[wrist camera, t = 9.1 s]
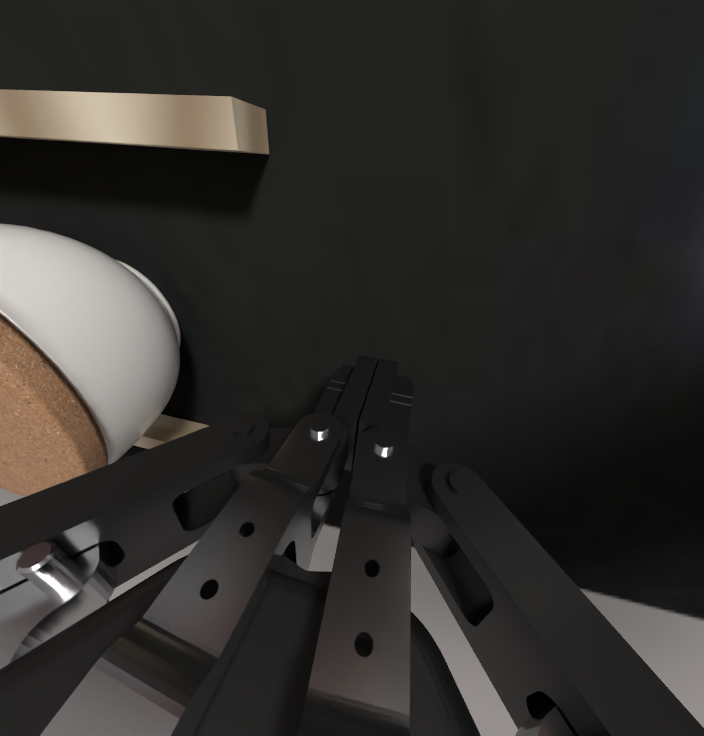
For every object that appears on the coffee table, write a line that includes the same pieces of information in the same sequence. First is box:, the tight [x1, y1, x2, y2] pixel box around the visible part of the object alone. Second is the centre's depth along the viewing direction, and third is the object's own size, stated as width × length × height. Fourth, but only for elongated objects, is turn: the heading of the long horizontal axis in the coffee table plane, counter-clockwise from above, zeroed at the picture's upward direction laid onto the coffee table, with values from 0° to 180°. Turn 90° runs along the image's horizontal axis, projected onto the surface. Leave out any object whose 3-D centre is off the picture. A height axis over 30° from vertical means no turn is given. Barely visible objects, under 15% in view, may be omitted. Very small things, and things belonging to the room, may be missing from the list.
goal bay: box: [0, 90, 269, 449], centre depth 15 cm, size 16×17×2 cm
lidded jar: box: [0, 224, 181, 497], centre depth 12 cm, size 11×11×9 cm
